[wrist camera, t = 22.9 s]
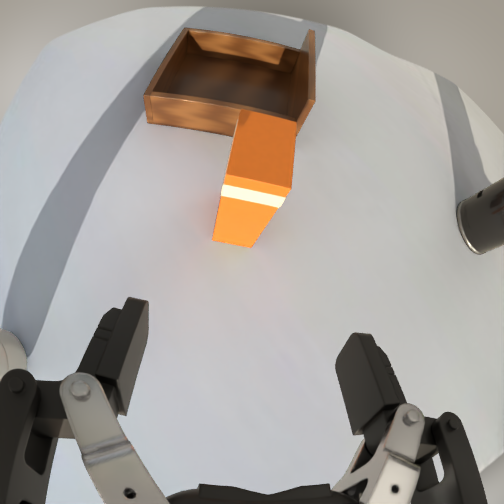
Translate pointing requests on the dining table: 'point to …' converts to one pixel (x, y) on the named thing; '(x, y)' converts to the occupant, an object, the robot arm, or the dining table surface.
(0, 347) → the plastic bottle
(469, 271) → the dining table surface
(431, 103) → the dining table surface
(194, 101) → the drawer
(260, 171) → the packet
